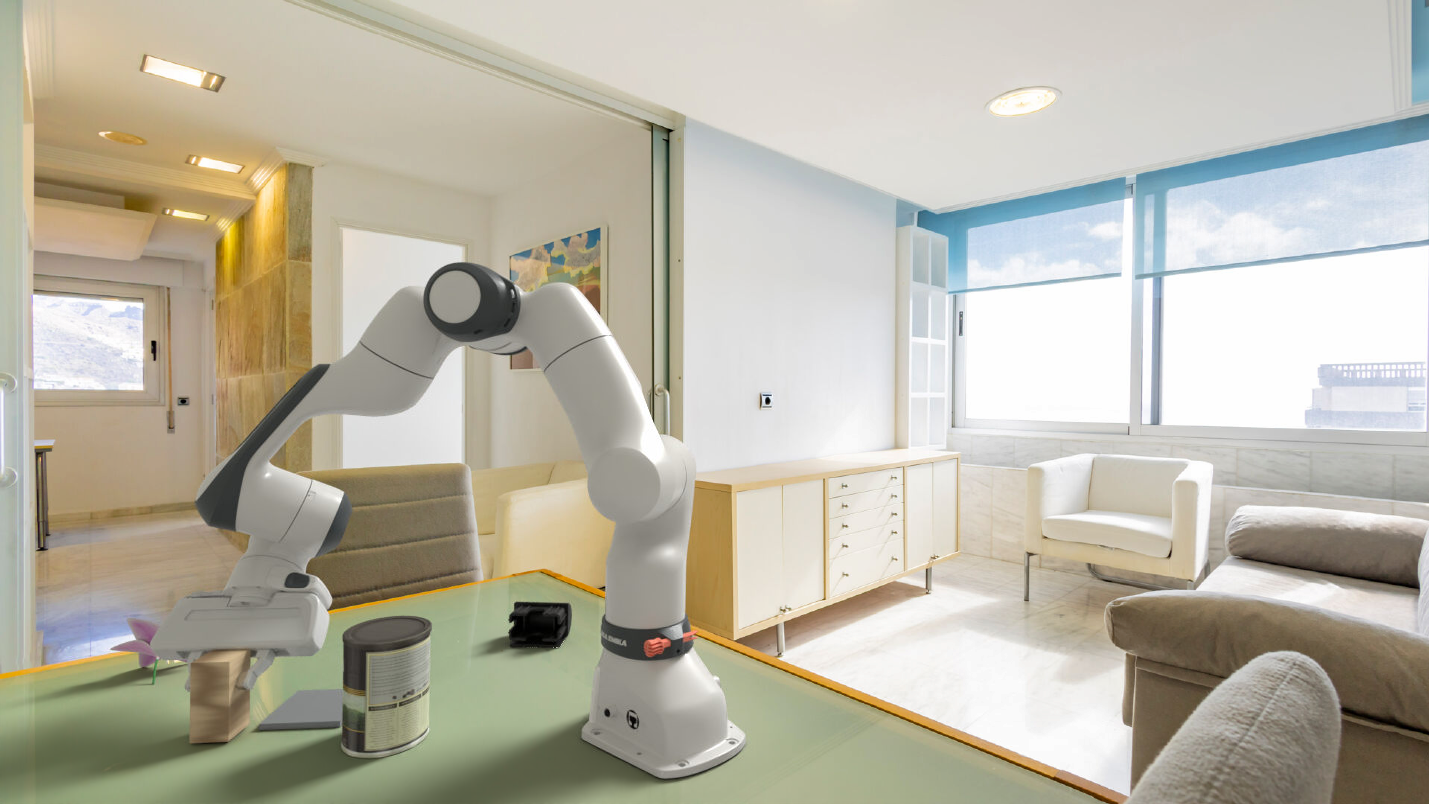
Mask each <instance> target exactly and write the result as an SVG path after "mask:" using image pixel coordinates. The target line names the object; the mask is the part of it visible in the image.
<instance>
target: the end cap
mask: <svg viewBox="0 0 1429 804" xmlns="http://www.w3.org/2000/svg"><path fill="white" fill-rule="evenodd" d="M508 617H509V618H508V624H512V623H513V625H512V626H511V627H510V629H509V630H508V632H507V634H508V639H509V640H510V642H509V647H510V648H526V649H528V648H527V647H529V648H530V647H531V649H533V648H534V647H535V648H534V649H557V648H556V647H560V646H561V644H562V643H563V641H564V640H565V641H566V639H567V637H568V636H569V635H570V632H571V627H572V621H573V620H572V619H573V609H572V605H571V604H570V603H569V602H556V601H555V602H553V601H552V602H551V601H550V602H549V601H545V602H544V601H515V602H514V603H513V611H512V612H511V613H510V614H509V616H508ZM565 638H566V639H565ZM565 641H564V642H565ZM563 644H564V643H563ZM563 644H562V645H563ZM532 647H533V648H532ZM536 647H537V648H536ZM553 647H554V648H553ZM561 647H562V646H561ZM561 647H560V648H561Z"/></svg>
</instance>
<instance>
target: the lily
mask: <svg viewBox="0 0 1429 804" xmlns="http://www.w3.org/2000/svg"><path fill="white" fill-rule="evenodd" d="M126 623H127V624H128V627H129V628H130V630H131V632H132V634H133V637H134V638H135V639H134V640H130V641H129V640H128V641H125V642H122V643H120V644H117V645H114V646H113V647H111V648H109V651H112V652H113V651H115V652H116V651H117V652H127V653H138V665H139V668H141V667H144V668H147V667H149V666H151V665H154V667H153V674H152V682H151V683H152V685H155V684H154V683H156V675H157V674H156V673H157V668H158V663H159V661H161V660H162V659H161V658H159V657H158V656H157V655H156V654H155V653H154V652H153V651H152V649H151V646H150V642H151V640H152V638H153V637H154V635H155V633H156V632H157V630H158V629H159V627H160V626H161V625H160V624H158V623H155V622H152V621H149V620H145V619H142V618H137V617H136V618H135V617H127V618H126ZM178 661H180V662H183V663H186V664H188V663H187V660H178Z"/></svg>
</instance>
